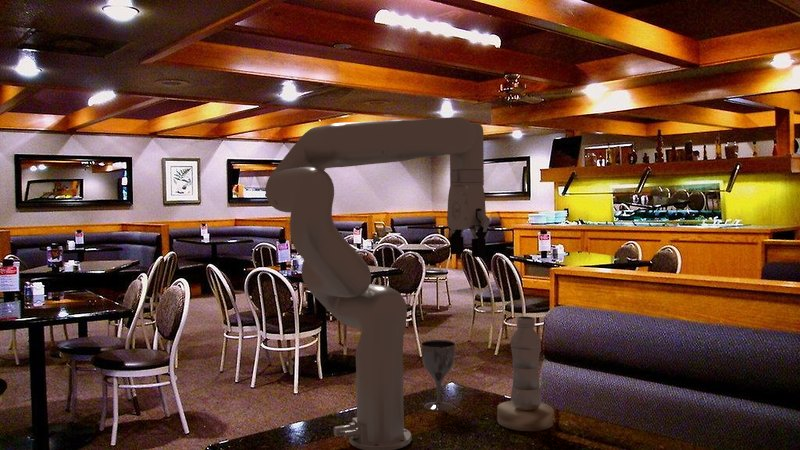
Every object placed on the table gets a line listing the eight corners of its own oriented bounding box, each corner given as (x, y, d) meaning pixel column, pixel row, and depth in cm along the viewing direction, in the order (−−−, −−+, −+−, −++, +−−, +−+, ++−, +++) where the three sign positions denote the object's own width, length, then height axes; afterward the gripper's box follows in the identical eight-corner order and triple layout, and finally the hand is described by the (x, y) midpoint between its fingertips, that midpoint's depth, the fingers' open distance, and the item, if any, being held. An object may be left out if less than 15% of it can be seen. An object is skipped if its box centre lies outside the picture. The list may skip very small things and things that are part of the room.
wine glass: (415, 407, 157) (414, 344, 157) (434, 399, 164) (433, 338, 163) (443, 413, 152) (442, 348, 152) (462, 405, 159) (461, 342, 158)
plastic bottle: (534, 415, 141) (534, 321, 140) (505, 410, 145) (505, 318, 144) (546, 407, 146) (546, 317, 146) (518, 402, 150) (518, 314, 149)
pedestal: (517, 434, 139) (517, 420, 138) (487, 417, 150) (487, 404, 149) (564, 426, 143) (564, 412, 143) (532, 410, 154) (531, 397, 154)
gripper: (434, 180, 155) (435, 253, 156) (471, 177, 140) (472, 259, 140) (462, 180, 158) (463, 252, 159) (502, 177, 143) (502, 257, 143)
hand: (467, 255), depth 150 cm, fingers open, 9 cm apart
